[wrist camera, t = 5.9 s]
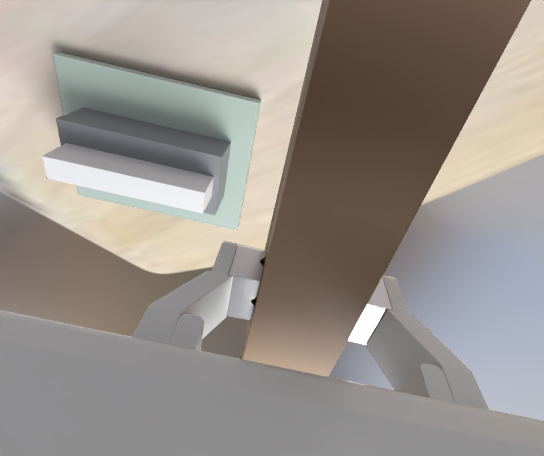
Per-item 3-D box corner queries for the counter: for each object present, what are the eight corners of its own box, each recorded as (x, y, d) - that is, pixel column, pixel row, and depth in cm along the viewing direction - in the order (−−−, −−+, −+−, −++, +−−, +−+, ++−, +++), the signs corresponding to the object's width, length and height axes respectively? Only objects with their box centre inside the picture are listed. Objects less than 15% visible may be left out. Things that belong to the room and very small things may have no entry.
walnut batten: (336, -62, 8) (359, -123, 4) (456, -33, 8) (568, -70, 4) (239, 361, 18) (223, 440, 14) (291, 371, 18) (287, 452, 15)
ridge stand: (62, 52, 28) (-15, 65, 21) (261, 100, 28) (246, 126, 22) (84, 189, 36) (33, 229, 29) (239, 224, 36) (223, 271, 30)
